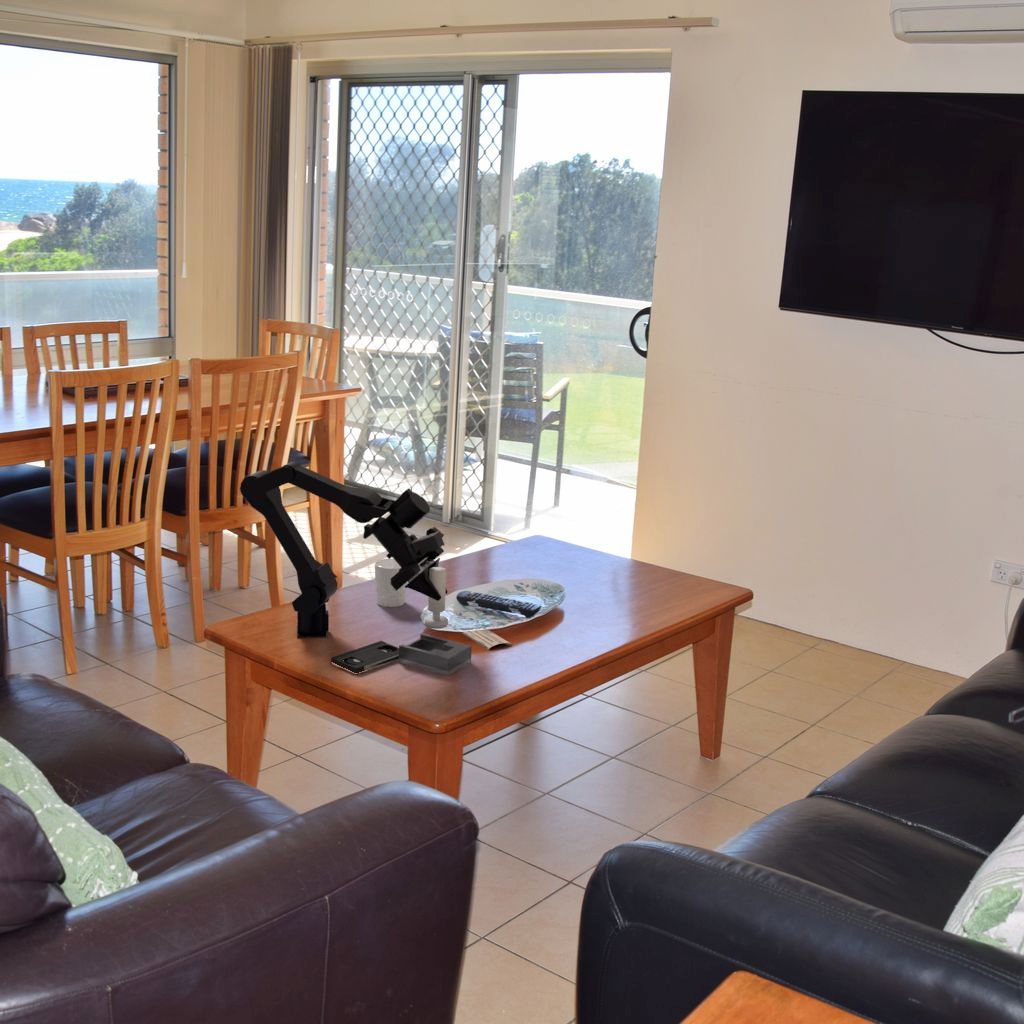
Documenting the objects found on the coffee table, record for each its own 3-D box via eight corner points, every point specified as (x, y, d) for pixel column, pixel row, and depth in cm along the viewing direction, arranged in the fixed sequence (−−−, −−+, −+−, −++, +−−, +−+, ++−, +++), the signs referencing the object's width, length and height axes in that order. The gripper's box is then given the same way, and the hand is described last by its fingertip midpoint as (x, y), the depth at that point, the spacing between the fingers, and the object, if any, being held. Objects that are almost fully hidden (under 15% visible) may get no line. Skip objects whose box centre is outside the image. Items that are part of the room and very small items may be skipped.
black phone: (356, 677, 244) (356, 668, 244) (330, 666, 249) (330, 657, 249) (406, 659, 255) (406, 650, 254) (380, 649, 260) (381, 640, 259)
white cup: (368, 605, 285) (368, 565, 283) (383, 595, 292) (384, 556, 290) (397, 610, 282) (398, 570, 280) (412, 600, 289) (413, 561, 287)
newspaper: (435, 619, 279) (435, 612, 279) (461, 614, 283) (461, 607, 283) (488, 653, 261) (488, 645, 260) (515, 647, 264) (515, 640, 264)
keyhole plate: (398, 662, 251) (399, 645, 250) (422, 649, 259) (423, 633, 258) (447, 675, 246) (448, 658, 245) (471, 662, 253) (471, 645, 252)
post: (423, 628, 255) (425, 572, 252) (425, 620, 260) (426, 565, 257) (446, 629, 255) (448, 573, 252) (448, 621, 260) (450, 566, 257)
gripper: (406, 529, 244) (455, 588, 244) (436, 508, 261) (482, 562, 261) (369, 561, 248) (417, 618, 248) (402, 538, 265) (447, 591, 265)
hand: (442, 596), depth 256 cm, fingers closed on post, 4 cm apart
